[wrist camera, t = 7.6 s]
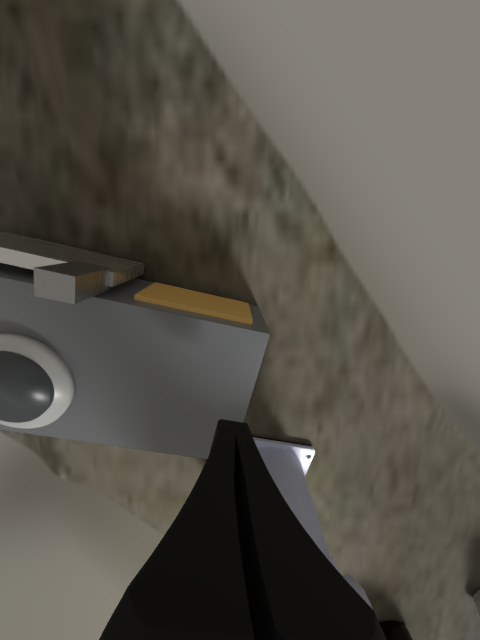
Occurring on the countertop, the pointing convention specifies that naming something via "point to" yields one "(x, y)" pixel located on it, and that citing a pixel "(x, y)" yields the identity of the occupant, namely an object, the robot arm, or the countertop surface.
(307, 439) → the countertop surface
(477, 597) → the salt shaker
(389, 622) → the supplement bottle
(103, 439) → the camera housing
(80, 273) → the side door
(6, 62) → the countertop surface
